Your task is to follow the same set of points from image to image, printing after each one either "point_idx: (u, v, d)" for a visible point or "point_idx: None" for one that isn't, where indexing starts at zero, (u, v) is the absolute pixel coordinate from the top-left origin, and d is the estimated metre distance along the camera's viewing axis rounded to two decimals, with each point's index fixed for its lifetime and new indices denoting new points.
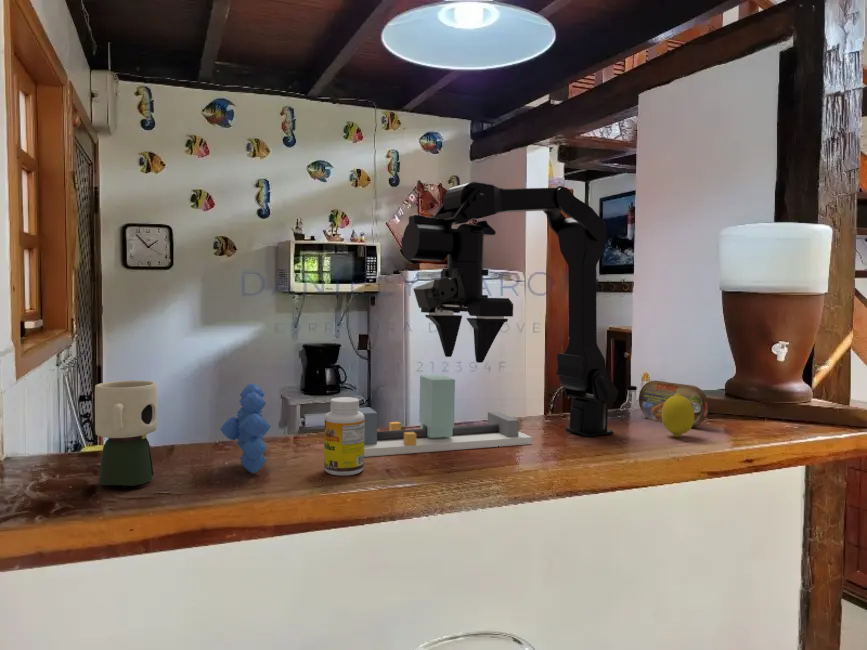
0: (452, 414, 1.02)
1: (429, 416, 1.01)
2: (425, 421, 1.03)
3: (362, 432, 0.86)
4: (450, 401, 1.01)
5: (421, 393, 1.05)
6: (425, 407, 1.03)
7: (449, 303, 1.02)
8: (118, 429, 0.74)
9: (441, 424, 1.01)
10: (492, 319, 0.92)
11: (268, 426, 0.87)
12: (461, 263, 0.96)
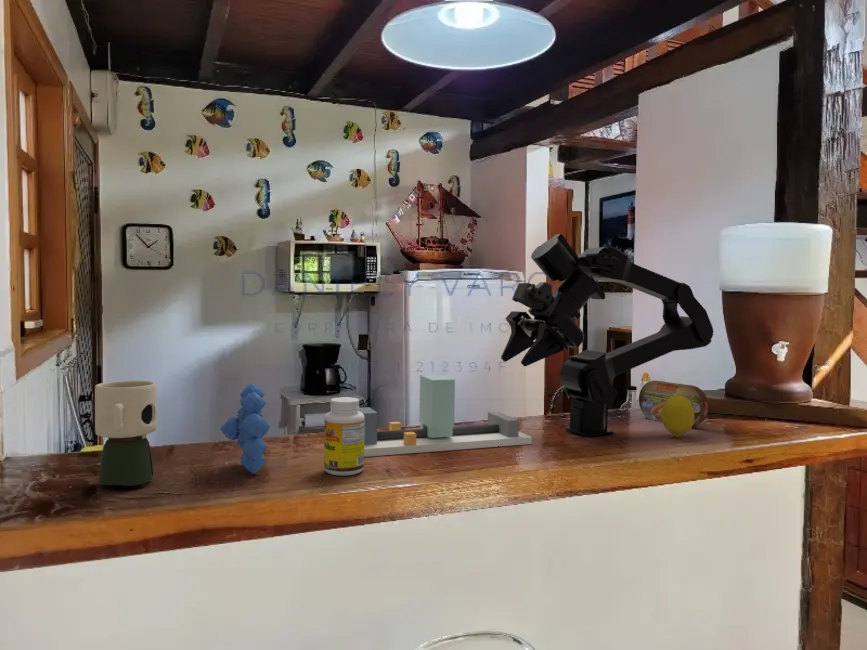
0: (452, 414, 1.02)
1: (429, 416, 1.01)
2: (425, 421, 1.03)
3: (362, 432, 0.86)
4: (450, 401, 1.01)
5: (421, 393, 1.05)
6: (425, 407, 1.03)
7: None
8: (118, 429, 0.74)
9: (441, 424, 1.01)
10: (558, 336, 1.03)
11: (268, 426, 0.87)
12: (566, 292, 1.09)
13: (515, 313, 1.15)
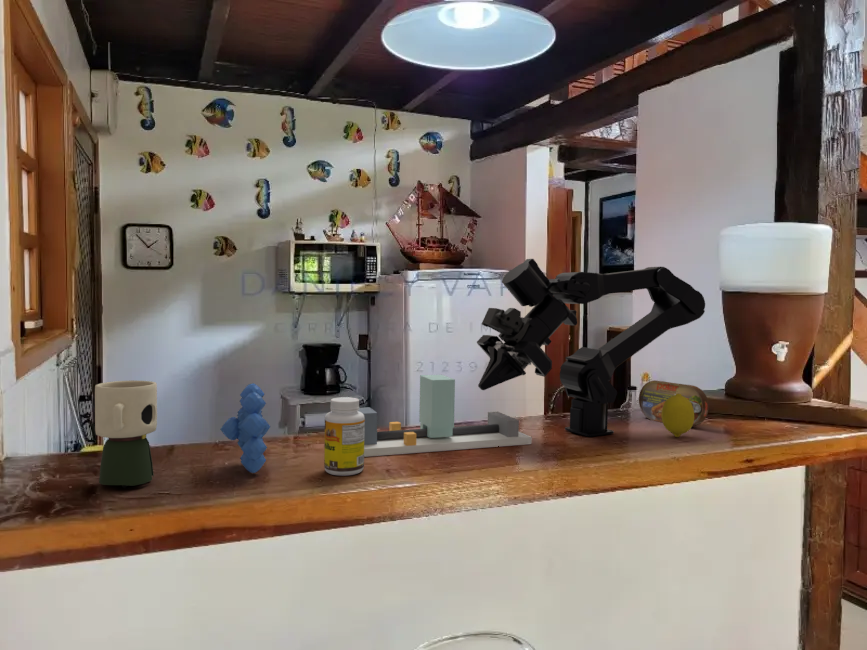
0: (452, 414, 1.02)
1: (429, 416, 1.01)
2: (425, 421, 1.03)
3: (362, 432, 0.86)
4: (450, 401, 1.01)
5: (421, 393, 1.05)
6: (425, 407, 1.03)
7: None
8: (118, 429, 0.74)
9: (441, 424, 1.01)
10: (515, 361, 1.04)
11: (268, 426, 0.87)
12: (536, 318, 1.07)
13: (486, 337, 1.14)
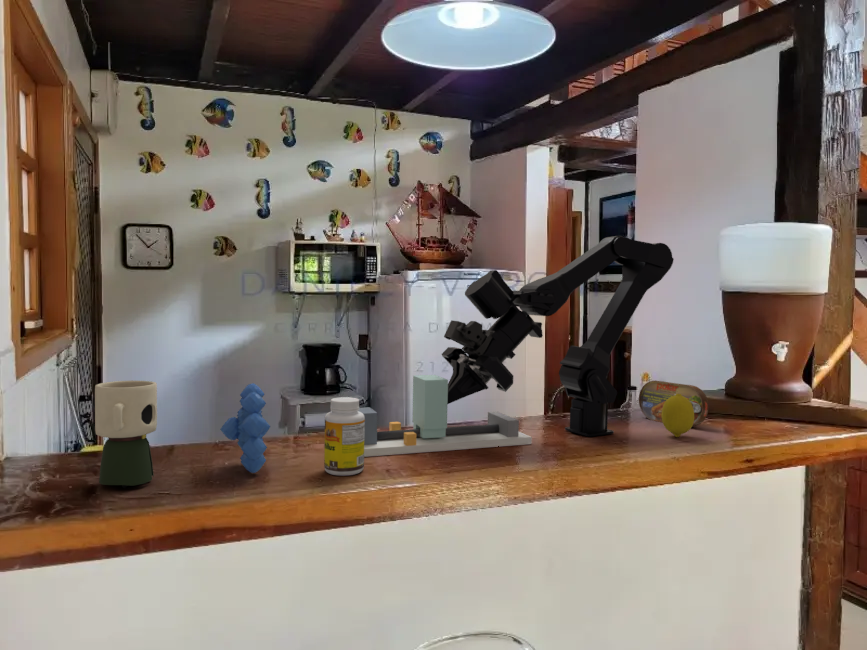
0: (445, 414, 1.01)
1: (422, 416, 1.01)
2: (418, 421, 1.03)
3: (362, 432, 0.86)
4: (443, 401, 1.01)
5: (414, 393, 1.04)
6: (418, 408, 1.03)
7: None
8: (118, 429, 0.74)
9: (434, 424, 1.01)
10: (477, 375, 1.02)
11: (268, 426, 0.87)
12: (499, 331, 1.05)
13: (450, 350, 1.11)
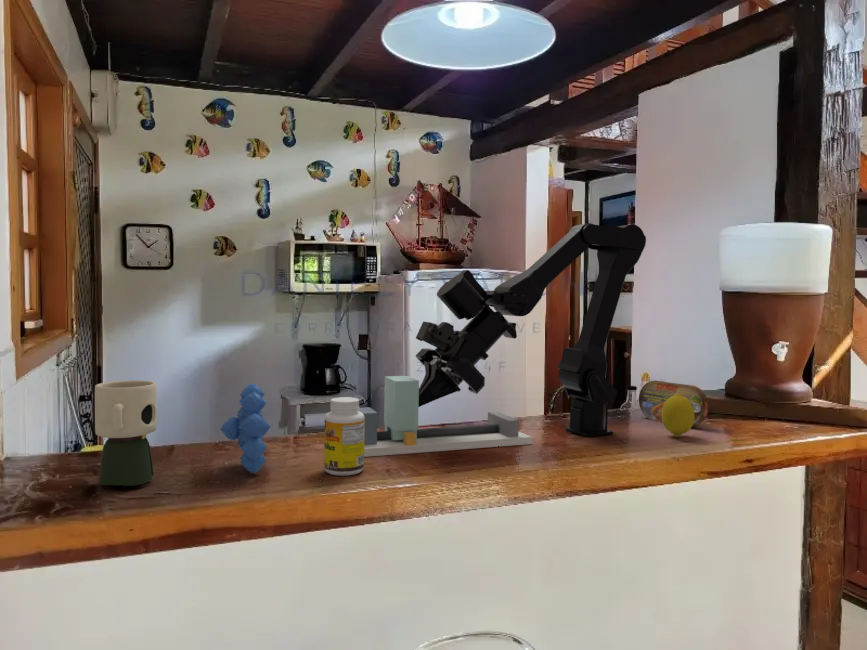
0: (416, 416, 0.99)
1: (392, 418, 0.99)
2: (389, 423, 1.01)
3: (362, 432, 0.86)
4: (414, 403, 0.99)
5: (385, 394, 1.03)
6: (389, 409, 1.01)
7: None
8: (118, 429, 0.74)
9: (405, 426, 0.99)
10: (449, 377, 1.00)
11: (268, 426, 0.87)
12: (472, 332, 1.03)
13: (424, 351, 1.09)
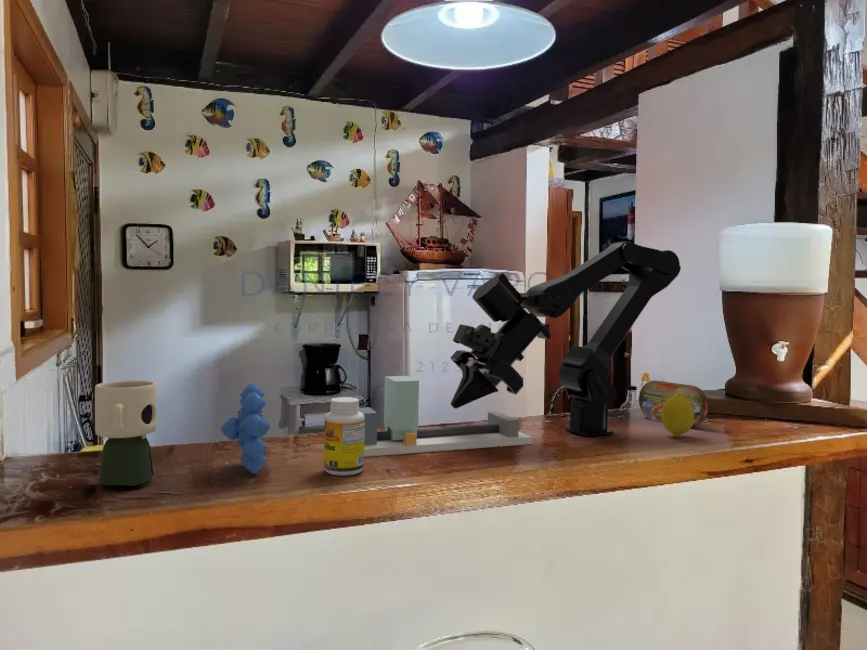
0: (416, 416, 0.99)
1: (392, 418, 0.99)
2: (389, 423, 1.01)
3: (362, 432, 0.86)
4: (414, 403, 0.99)
5: (385, 394, 1.03)
6: (389, 409, 1.01)
7: None
8: (118, 429, 0.74)
9: (405, 426, 0.99)
10: (487, 379, 1.03)
11: (268, 426, 0.87)
12: (508, 334, 1.06)
13: (459, 353, 1.12)
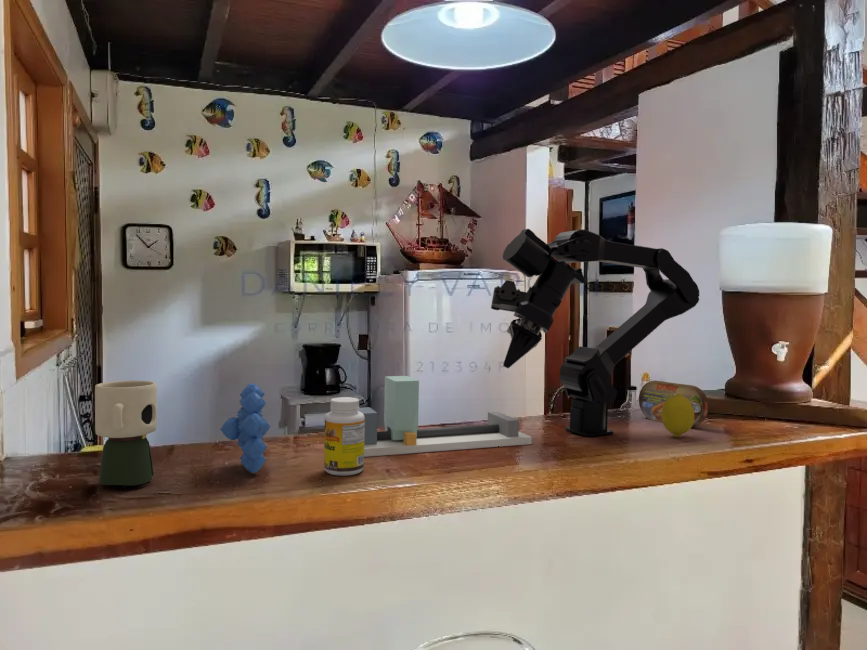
0: (416, 416, 0.99)
1: (392, 418, 0.99)
2: (389, 423, 1.01)
3: (362, 432, 0.86)
4: (414, 403, 0.99)
5: (385, 394, 1.03)
6: (389, 409, 1.01)
7: None
8: (118, 429, 0.74)
9: (405, 426, 0.99)
10: (525, 329, 1.05)
11: (268, 426, 0.87)
12: (538, 284, 1.08)
13: None
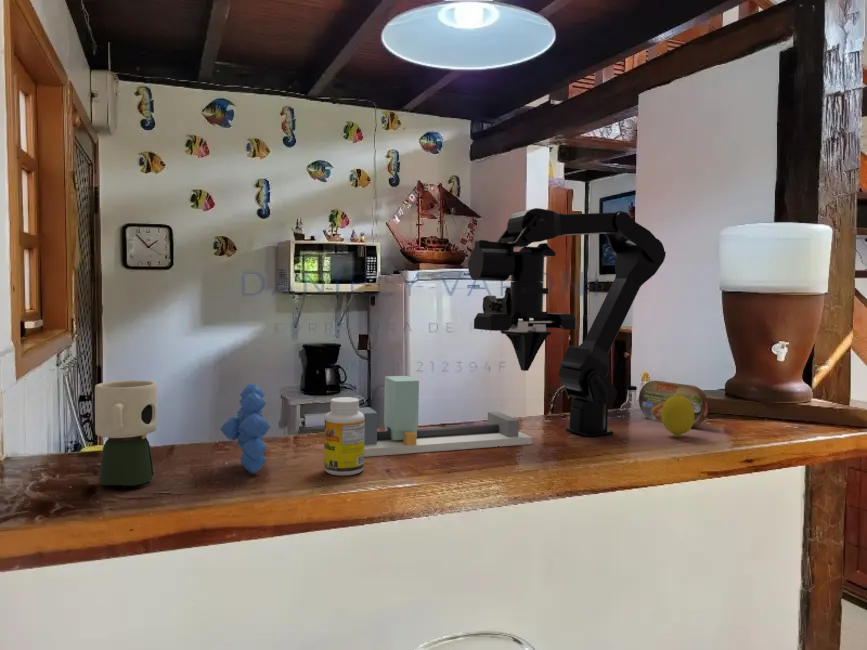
0: (416, 416, 0.99)
1: (392, 418, 0.99)
2: (389, 423, 1.01)
3: (362, 432, 0.86)
4: (414, 403, 0.99)
5: (385, 394, 1.03)
6: (389, 409, 1.01)
7: None
8: (118, 429, 0.74)
9: (405, 426, 0.99)
10: (508, 331, 1.07)
11: (268, 426, 0.87)
12: None
13: None
